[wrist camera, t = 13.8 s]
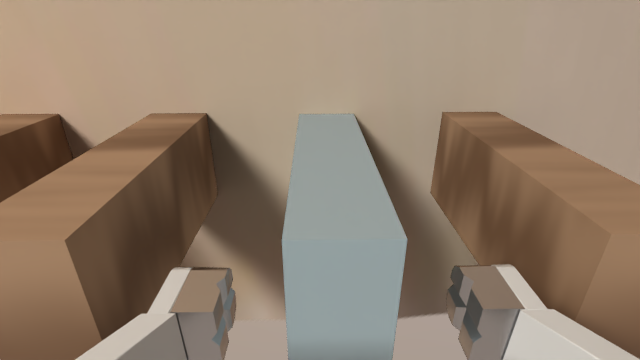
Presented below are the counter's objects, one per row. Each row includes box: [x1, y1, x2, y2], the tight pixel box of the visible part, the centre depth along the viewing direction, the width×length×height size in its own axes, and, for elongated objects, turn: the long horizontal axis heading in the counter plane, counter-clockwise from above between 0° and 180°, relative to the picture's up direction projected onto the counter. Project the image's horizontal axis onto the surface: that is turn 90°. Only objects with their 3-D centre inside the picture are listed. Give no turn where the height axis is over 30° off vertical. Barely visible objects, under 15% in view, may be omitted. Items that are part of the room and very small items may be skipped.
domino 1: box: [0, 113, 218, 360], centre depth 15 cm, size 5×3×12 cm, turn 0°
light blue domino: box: [282, 114, 407, 360], centre depth 15 cm, size 5×3×12 cm, turn 0°
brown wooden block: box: [430, 112, 640, 359], centre depth 15 cm, size 5×3×12 cm, turn 0°
